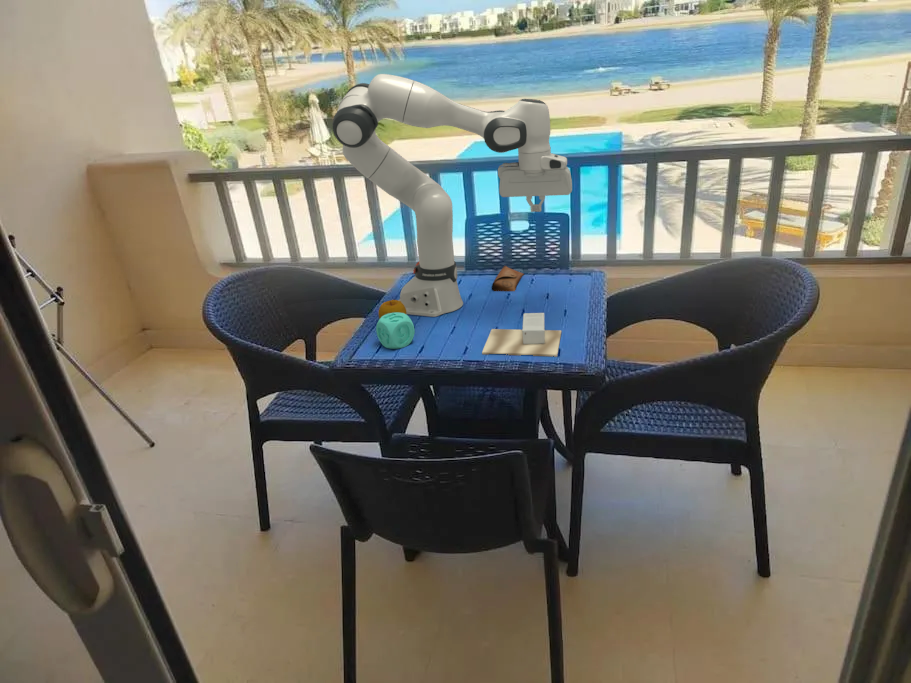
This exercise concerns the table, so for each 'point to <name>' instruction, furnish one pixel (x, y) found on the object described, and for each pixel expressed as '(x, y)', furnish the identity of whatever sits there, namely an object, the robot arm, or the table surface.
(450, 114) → the robot arm
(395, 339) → the decorative dice
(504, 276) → the sunglasses case
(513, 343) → the birch board
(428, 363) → the table surface
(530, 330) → the skincare box
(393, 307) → the apple
